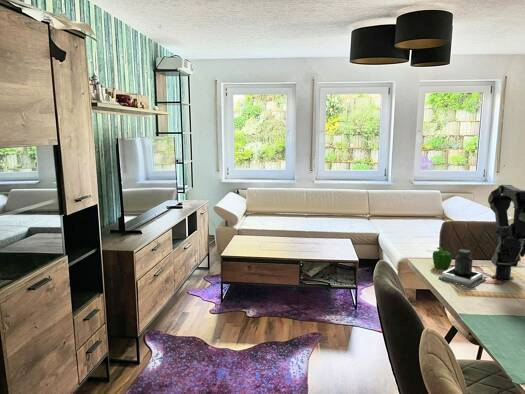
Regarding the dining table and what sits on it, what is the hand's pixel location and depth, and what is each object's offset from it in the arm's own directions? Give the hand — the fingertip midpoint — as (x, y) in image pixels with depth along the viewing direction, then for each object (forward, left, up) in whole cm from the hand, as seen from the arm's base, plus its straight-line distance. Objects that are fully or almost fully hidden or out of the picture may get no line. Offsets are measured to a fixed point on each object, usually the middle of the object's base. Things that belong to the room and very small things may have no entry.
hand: (517, 259), depth 162 cm
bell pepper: (-3, -32, -13) cm, 35 cm away
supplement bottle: (+5, -19, -12) cm, 23 cm away
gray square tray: (+5, -19, -13) cm, 24 cm away
